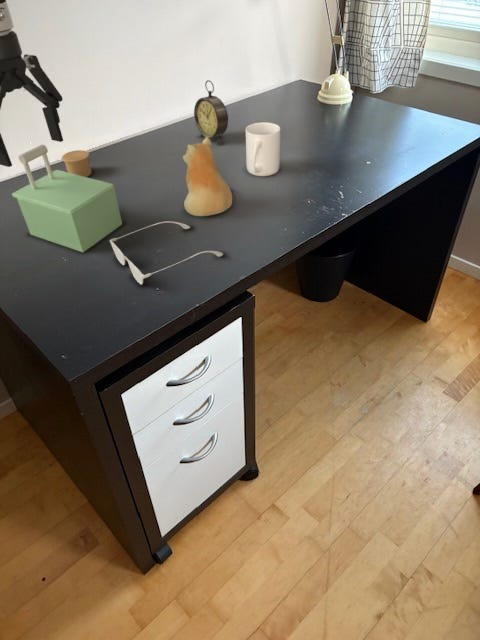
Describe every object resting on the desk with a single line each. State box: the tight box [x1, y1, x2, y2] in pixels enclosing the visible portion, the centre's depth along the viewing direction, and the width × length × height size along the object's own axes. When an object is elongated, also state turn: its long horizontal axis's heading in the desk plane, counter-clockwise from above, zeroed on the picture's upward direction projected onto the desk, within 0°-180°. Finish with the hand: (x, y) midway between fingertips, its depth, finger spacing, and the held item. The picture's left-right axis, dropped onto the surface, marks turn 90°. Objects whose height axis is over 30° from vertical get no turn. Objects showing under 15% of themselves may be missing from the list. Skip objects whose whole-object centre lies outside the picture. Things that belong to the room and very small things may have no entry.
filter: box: [61, 149, 93, 178], centre depth 125 cm, size 7×7×5 cm
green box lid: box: [11, 144, 115, 214], centre depth 97 cm, size 17×13×8 cm
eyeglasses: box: [109, 220, 224, 285], centre depth 95 cm, size 15×18×4 cm
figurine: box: [182, 137, 233, 217], centre depth 107 cm, size 12×13×15 cm
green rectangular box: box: [16, 187, 123, 253], centre depth 103 cm, size 16×13×9 cm
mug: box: [245, 122, 281, 177], centre depth 120 cm, size 9×12×11 cm
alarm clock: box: [193, 79, 229, 145], centre depth 136 cm, size 11×5×16 cm, turn 42°
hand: (33, 152), depth 97 cm, fingers open, 13 cm apart
